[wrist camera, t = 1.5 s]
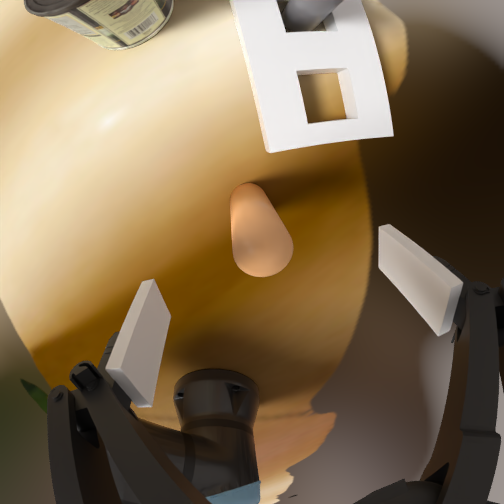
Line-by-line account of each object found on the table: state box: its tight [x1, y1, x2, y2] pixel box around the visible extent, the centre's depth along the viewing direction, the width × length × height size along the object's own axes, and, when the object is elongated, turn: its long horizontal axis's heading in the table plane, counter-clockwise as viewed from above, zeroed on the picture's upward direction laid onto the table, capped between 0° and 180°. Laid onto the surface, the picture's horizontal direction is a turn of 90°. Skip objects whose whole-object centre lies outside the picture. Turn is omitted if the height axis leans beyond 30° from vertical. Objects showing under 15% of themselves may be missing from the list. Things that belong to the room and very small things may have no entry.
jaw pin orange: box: [230, 183, 293, 277], centre depth 24 cm, size 4×4×13 cm
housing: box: [229, 0, 393, 153], centre depth 22 cm, size 20×14×3 cm
